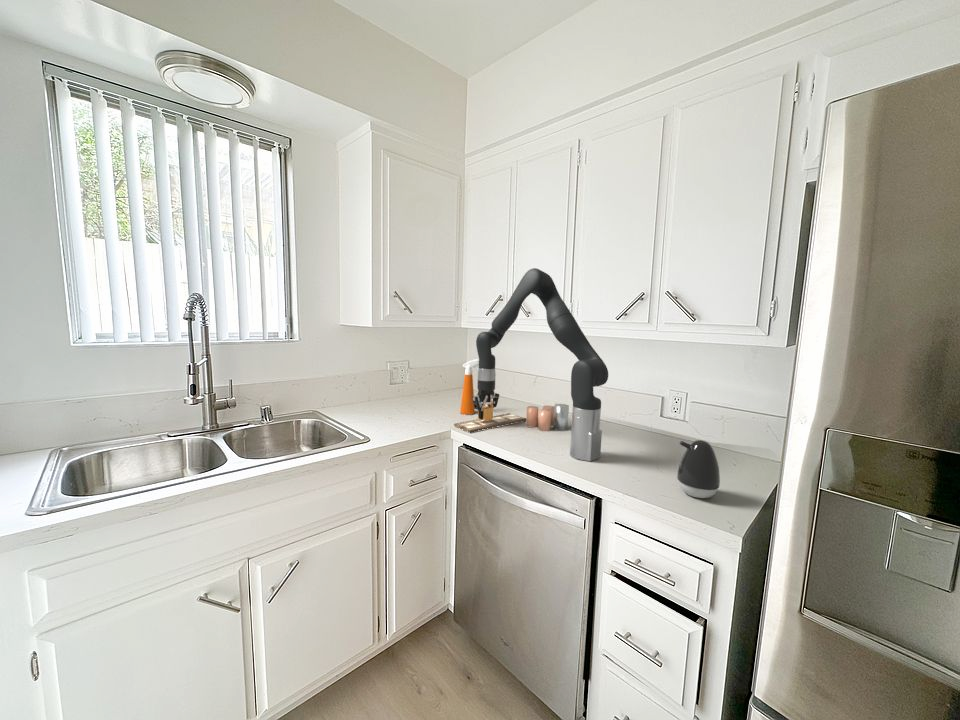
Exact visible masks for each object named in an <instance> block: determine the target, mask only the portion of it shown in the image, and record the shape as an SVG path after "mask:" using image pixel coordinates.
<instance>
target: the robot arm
mask: <svg viewBox="0 0 960 720" xmlns="http://www.w3.org/2000/svg"><path fill="white" fill-rule="evenodd" d="M532 294H533V295H535V296H536V297H537V298H538V299H539V300H540V301H541V303H542V305H543V306H544V308H545V309H544V310H545V312H546V323H547V324H548V327H549V328H550V331H551V332H552V334H553V336H554V338H555V339H556V341H558V342H559V344H561V345H562V346H563V347H565V348H566V349H567V350H568V351H570V353H572V354H573V355H574V356H575V357H576V358H577V360H578V361H576V362H574V364H573V365H572V368H571V373H570V374H571V376H570V380H571V381H570V397H571V400H572V413H571V429H570V447H569V449H570V450H569V455H570V456H571V458H574V459H576V460H580V461H586V462H587V461H588V462H593V461H595V460H597V459H600V458H601V453H602V452H601V450H602V438H603V437H602V435H603V430H602V429H600V427H601V413H602V400H601V398H599V397H596V396H595V395H594V387H595V388H596V387H601V386H603V385H605V384H606V383H608V382H607V381H608V380H609V370H608V367H607V364H606V363H605V362H604V360H603V359H602V357H600V355H599V354H598V353H597V352H596V350H595V349H594V348H593V346H592V344H591V343H590V341H589V340H588V338H587V337H586V335H585V333H584V332H583V331H582V329H581V327H580V326H579V324H578V322H577V320H576V319H575V317H574V316H573V314H572V312H571V311H570V309H569V308H568V306H567V305H566V303H565V302H564V300H563V299H562V297H561V295H560V293H559V291H558V288H557V286H556V284H555V282H554V280H553V278H552V276H550V274H548V273H547V272H545V271H543V270H541V269H539V268H535V267H533V268H529V270H527V271H526V272H525V273H524V275H522V277H521V279H520V281H519V283H518V284H517V286H516V288H515V290H514V291H513V293H511V296H510V297H509V300H508V301H507V302H506V304H505V305H504V307H502V309H501V311H500V312H499V313H498V314H497V315H496V316H495V317H494V319H493V320H492V322H491V328H490V329H489V330H488V331H481V332H480V333H479V334H478V335H477V337H476V339H475V340H476V341H475V343H476V344H475V345H476V351H477V356H478V359H479V362H478V363H479V369H478V370H477V386H476V387H477V388H476V389H477V394H476V395H474V396H472V400H473V404H474V408H475V410H477V418H478V417H479V419H481V420H482V419H483V409H484V406H488V407H492V408H493V409H494V408H496V407H497V405H498V401H499V399H500V394H499V393H498V392H495V390H496V375H497V374H496V356H495V355H494V354H493V353H492V349H494V348H495V347H497V346H498V345H499V344H500V342H501V341H502V339H503V337H504V336H505V334H506V332H507V331H508V330H509V329H510V328H511V326H512V325H514V323H515V322H516V321H517V318H518V316H519V313H520V310H521V307H522V304H523V303H524V301H525V300H526V299H527V298H528V297H529V296H530V295H532Z"/></svg>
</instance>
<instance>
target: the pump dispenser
mask: <svg viewBox="0 0 960 720" xmlns="http://www.w3.org/2000/svg"><path fill="white" fill-rule="evenodd" d="M679 445H680V446H682V447H684V448H685V449H686V450H685V451H684V453H683V455H682V457H681V460H680V462H679V465H678V470H677V473H676V478H677V480H678V485H679V487H680V489H681V490H682V491H683V492H684V493H685V494H686V495H689V496H690V497H693V498H696V499H709V498H711V497H713V496H714V495H715V494H716V493H717V491H718V490H719V488H720V486H721V476H720V475H721V474H720V473H721V471H720V466H719V462H718V458H717V455H716V452H715V450H714V448H713V446H712V445H711V444H710V442H707V441H706V440H702V439H697V440H694V441H692V442H691V443H687V442H685V441H684V440H683V441H682V440H680V441H679Z"/></svg>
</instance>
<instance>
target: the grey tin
mask: <svg viewBox="0 0 960 720" xmlns="http://www.w3.org/2000/svg"><path fill="white" fill-rule="evenodd" d="M569 411H570V406H569V405H568V404H565V403H556V404H554V424H553V429H554V430H556V429H557V431H567V430H568V427H569Z"/></svg>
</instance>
